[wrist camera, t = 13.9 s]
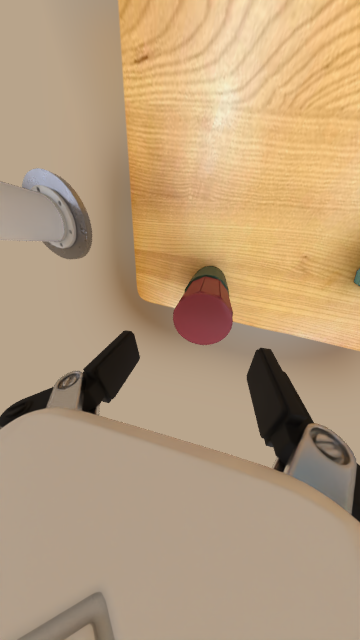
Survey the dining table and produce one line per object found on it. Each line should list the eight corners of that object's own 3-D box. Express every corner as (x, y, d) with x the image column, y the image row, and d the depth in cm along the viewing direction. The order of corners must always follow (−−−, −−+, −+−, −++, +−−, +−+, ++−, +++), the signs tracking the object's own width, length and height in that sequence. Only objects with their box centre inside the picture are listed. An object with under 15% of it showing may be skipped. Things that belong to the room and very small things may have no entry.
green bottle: (187, 287, 31) (168, 315, 19) (204, 259, 27) (194, 271, 15) (212, 303, 32) (209, 341, 19) (232, 277, 28) (245, 303, 15)
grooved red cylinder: (179, 303, 23) (163, 327, 16) (200, 267, 19) (192, 279, 12) (210, 322, 23) (207, 353, 16) (237, 291, 19) (248, 315, 13)
